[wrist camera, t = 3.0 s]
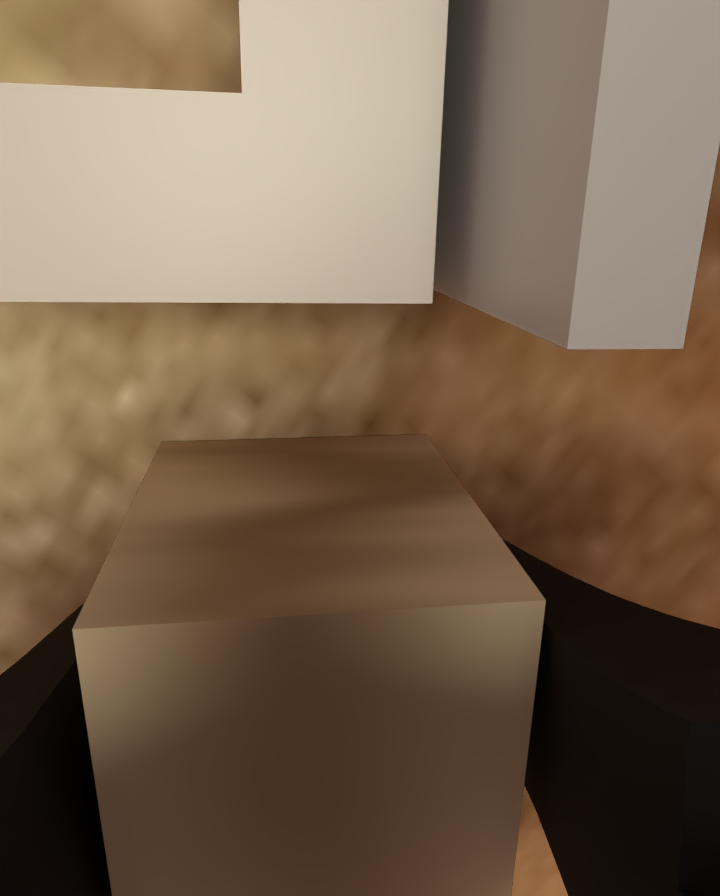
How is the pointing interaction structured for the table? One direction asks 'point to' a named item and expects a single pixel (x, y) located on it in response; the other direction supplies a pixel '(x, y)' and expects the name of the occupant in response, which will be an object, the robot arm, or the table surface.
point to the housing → (390, 168)
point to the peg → (308, 675)
